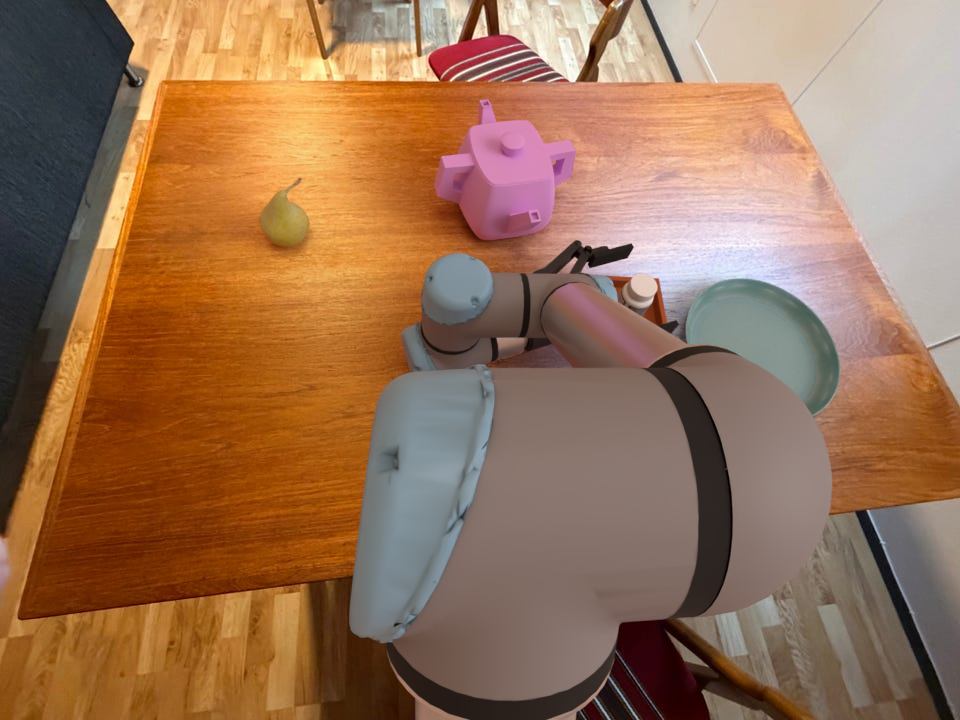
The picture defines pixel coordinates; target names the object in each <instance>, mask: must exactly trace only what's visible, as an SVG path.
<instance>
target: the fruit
mask: <svg viewBox="0 0 960 720" xmlns="http://www.w3.org/2000/svg"><path fill="white" fill-rule="evenodd" d="M302 180H303V178H302V177H298V178H297V180H296V181H295V182H294V183H293V184H291V185H289V186H288V187H287V188H285V189H283V190H279V191H278V192H277V193H275V194H274V195H273V196H272V197H271V198H270V200H269V201H268V203H266V205H265V206H264V207H263V208H262V209H261V211H260V215H259V225H260V229H261V232H262V233H263V235H264V237H265V238H266V240H267V241H268V242H270V243H272V244H273V245H276V246H277V247H283V248H293V247H296V246H299V244H301V243H302V242H303V241H304V239H305V237H306V236H307V233H308V231H309V226H310V219H309V216H308V214H307V213H306V211H305V210H304V208H303V207H301V206H300V205H299V204H297V203H296V202H293V201H291V200H289V198H288V193H289V192H290V191H291V190H292V189H294V188H295V187H297V186H298V185H299V184H300V183H301V182H302Z"/></svg>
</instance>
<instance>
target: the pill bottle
mask: <svg viewBox="0 0 960 720" xmlns="http://www.w3.org/2000/svg"><path fill="white" fill-rule="evenodd" d="M631 277H632V278H631V280H630V281H629V282H627V283H626V284H625V285H624V286H623V288H622V290H621V291H620V293H619V295H618V296H617V297H618V302H619V303H620V304H622V305H624V306H625V307H627V308H629V309H630V310H632V311H634V312H635V313H637V314H639V315H640V316H643V314H644V313H645V312H646V310H647V309H648V308H649V306H650V305H651V304H652V302H653V299H654V295H655V293H656V292H657V283H656V281H655V280H654V279H653V278H654V277H653V276H651V275H649V274H647V273H636V274H635V275H633V276H631Z"/></svg>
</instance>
